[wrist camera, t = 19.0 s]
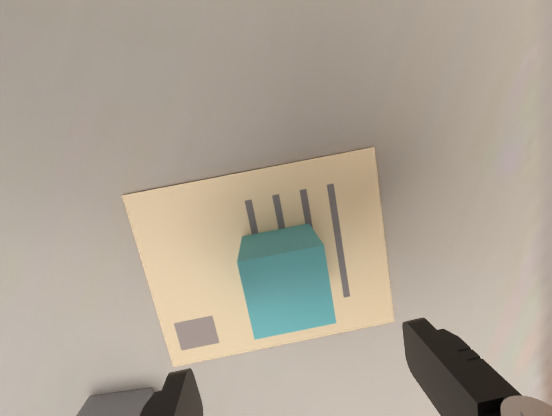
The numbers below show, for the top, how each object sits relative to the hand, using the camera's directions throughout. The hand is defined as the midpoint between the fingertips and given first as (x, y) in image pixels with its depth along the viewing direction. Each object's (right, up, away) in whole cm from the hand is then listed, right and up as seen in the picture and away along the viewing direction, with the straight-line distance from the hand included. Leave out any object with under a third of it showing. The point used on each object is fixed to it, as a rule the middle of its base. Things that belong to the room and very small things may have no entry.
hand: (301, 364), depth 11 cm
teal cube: (-1, +2, +11) cm, 11 cm away
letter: (-2, +2, +11) cm, 12 cm away
